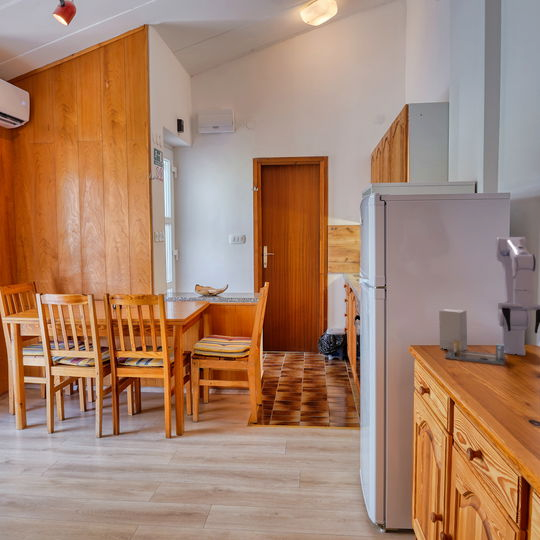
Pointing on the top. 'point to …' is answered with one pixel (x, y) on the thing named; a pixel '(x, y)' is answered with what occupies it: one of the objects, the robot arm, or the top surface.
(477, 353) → the bolt plate
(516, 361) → the top surface
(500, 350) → the sliding leg
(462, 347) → the skincare box
